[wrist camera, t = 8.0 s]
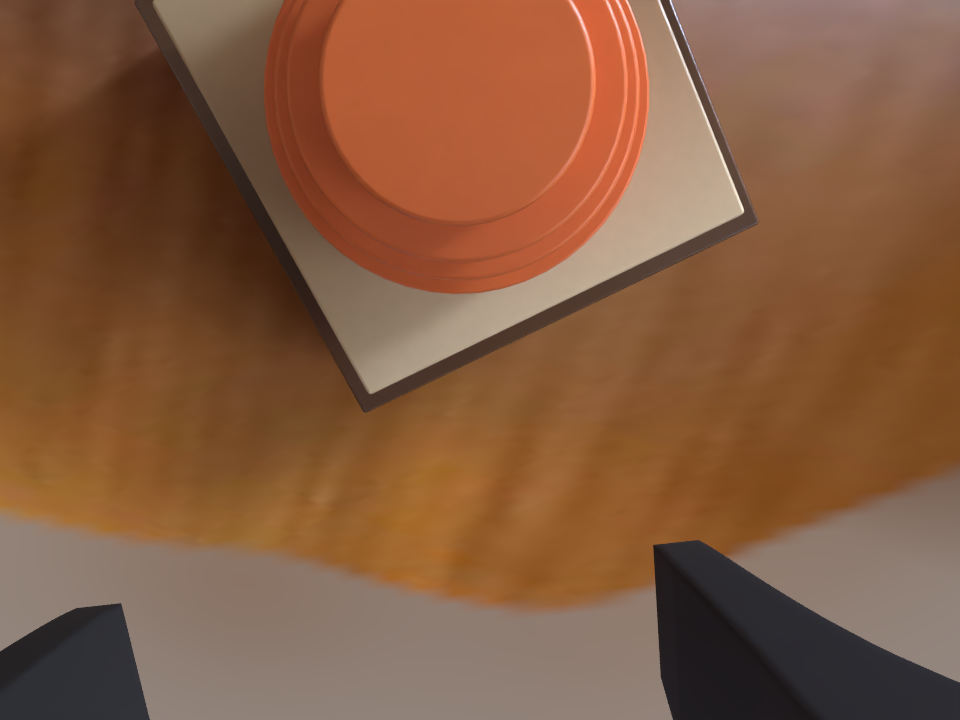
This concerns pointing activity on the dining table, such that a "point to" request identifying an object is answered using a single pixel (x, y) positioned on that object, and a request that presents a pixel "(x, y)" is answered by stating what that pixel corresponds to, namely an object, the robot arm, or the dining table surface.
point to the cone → (456, 130)
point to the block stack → (440, 316)
